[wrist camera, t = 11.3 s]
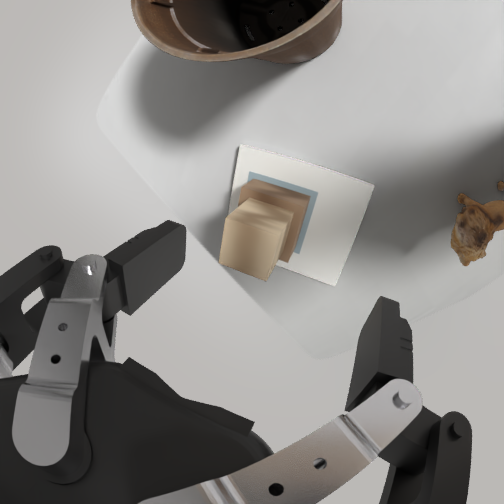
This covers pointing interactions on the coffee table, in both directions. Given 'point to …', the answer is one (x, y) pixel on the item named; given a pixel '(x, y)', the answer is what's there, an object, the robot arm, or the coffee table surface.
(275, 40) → the plant pot
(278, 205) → the walnut plinth
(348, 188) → the board
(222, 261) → the oak block
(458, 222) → the lion figurine
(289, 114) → the coffee table surface
